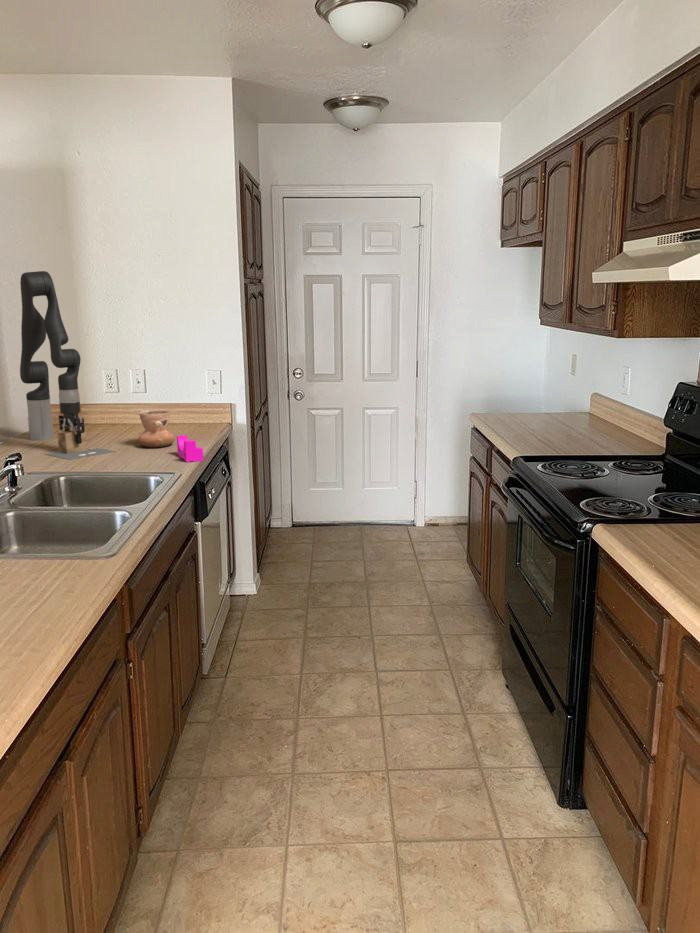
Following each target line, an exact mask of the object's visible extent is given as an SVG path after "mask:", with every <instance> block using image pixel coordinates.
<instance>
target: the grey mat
mask: <svg viewBox="0 0 700 933" xmlns="http://www.w3.org/2000/svg"><path fill="white" fill-rule="evenodd" d="M98 448H99V447H96V449H92V450H91V449H88V448H87V449H88V450H87V451H81V452H75V453H69V454H65V453H60V452H59V451H57V452H56V451H55V452H50V453H44V455H46V456H50V457H56V458H60V459H65V460H69V461H71V460H76V459H80V458H86V457H87V458H88V457H94V456H96V455H102V454H103V455H104V454H107V453H114V452H116V450H111V449H106V448H101V449H98Z"/></svg>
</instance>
